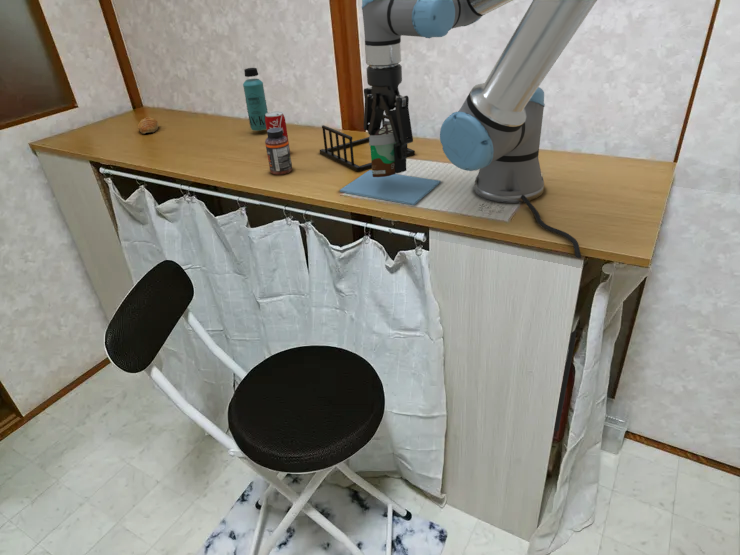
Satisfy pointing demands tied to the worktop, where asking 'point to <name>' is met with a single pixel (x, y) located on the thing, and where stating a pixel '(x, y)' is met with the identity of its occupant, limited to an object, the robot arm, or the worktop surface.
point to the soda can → (276, 121)
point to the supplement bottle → (278, 152)
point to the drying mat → (391, 187)
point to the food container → (383, 151)
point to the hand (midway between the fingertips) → (388, 166)
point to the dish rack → (330, 151)
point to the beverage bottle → (255, 100)
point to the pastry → (148, 125)
